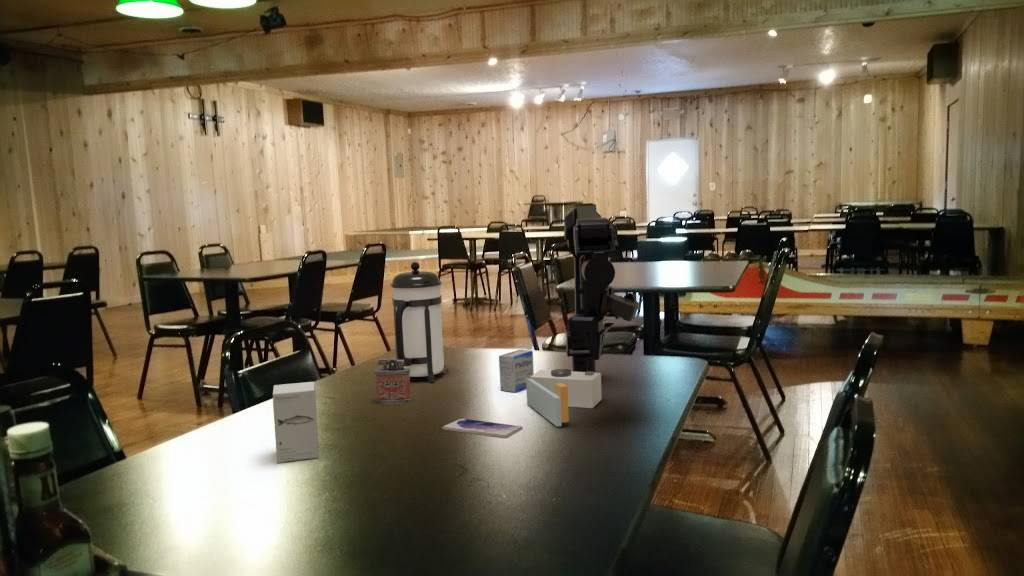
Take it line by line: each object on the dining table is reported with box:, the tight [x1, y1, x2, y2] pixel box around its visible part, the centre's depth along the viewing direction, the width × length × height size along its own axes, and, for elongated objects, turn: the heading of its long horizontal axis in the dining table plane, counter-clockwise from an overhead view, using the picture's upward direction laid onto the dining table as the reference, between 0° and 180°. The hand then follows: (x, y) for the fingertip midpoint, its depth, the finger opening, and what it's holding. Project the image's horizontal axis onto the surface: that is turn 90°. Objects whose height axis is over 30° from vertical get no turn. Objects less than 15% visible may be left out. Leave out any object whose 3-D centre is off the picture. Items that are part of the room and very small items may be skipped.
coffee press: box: [390, 261, 449, 384], centre depth 185 cm, size 17×16×30 cm
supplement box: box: [272, 381, 320, 464], centre depth 131 cm, size 7×7×13 cm
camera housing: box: [530, 368, 603, 409], centre depth 159 cm, size 7×14×7 cm, turn 68°
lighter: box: [374, 357, 413, 405], centre depth 165 cm, size 8×3×10 cm, turn 84°
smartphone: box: [441, 418, 523, 439], centre depth 143 cm, size 7×1×15 cm
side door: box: [526, 378, 570, 427], centre depth 150 cm, size 2×18×8 cm, turn 17°
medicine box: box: [498, 349, 535, 394], centre depth 173 cm, size 8×4×9 cm, turn 143°
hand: (596, 359), depth 146 cm, fingers closed
